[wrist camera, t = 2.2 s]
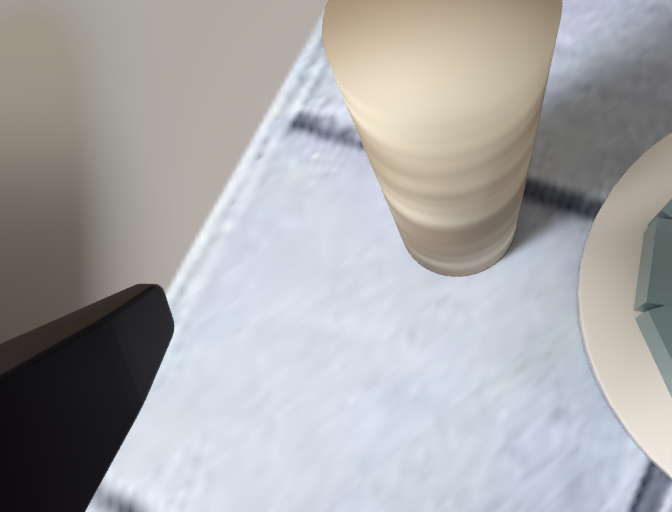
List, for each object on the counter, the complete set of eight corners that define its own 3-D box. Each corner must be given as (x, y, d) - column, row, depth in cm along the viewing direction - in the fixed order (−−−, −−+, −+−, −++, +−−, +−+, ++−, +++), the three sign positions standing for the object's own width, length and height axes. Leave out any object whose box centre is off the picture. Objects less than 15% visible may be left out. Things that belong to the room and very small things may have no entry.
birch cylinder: (534, 254, 20) (604, 60, 9) (419, 291, 21) (356, 151, 10) (492, 154, 22) (509, -119, 11) (386, 191, 23) (298, -29, 11)
